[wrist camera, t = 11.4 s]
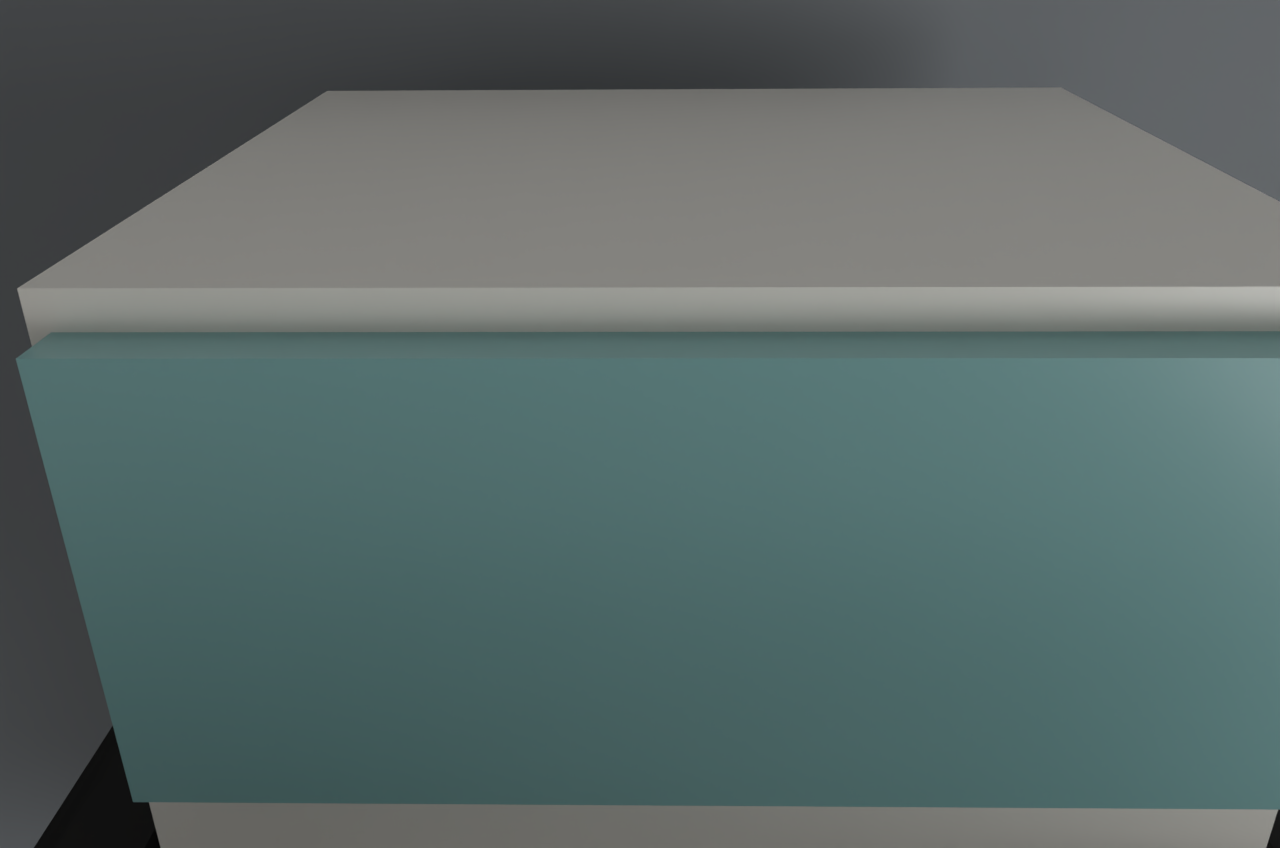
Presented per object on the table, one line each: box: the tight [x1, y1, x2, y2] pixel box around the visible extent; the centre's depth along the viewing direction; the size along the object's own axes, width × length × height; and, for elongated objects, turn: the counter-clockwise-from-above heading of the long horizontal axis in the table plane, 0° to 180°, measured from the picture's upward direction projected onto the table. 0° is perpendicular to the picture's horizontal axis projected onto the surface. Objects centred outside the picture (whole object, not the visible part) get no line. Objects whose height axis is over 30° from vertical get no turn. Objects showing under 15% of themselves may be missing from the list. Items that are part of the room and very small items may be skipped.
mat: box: [0, 0, 1280, 848], centre depth 13 cm, size 24×18×1 cm
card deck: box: [16, 87, 1280, 848], centre depth 9 cm, size 10×6×5 cm, turn 0°
